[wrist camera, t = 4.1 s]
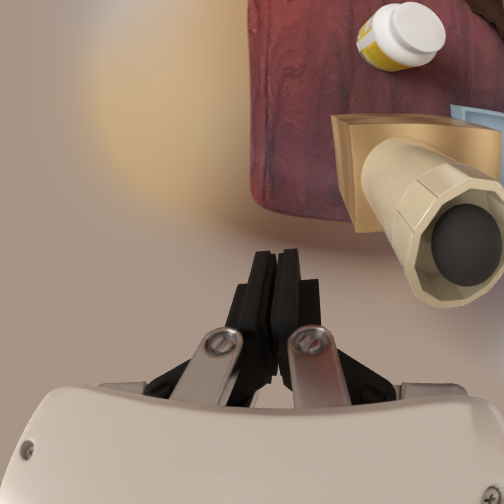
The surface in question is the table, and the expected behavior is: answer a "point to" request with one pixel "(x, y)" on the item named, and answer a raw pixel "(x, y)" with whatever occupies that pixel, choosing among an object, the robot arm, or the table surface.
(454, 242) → the ball
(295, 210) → the table surface
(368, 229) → the plinth
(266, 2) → the table surface
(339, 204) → the table surface
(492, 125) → the tray
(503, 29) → the potted plant
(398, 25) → the pill bottle
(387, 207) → the jar
